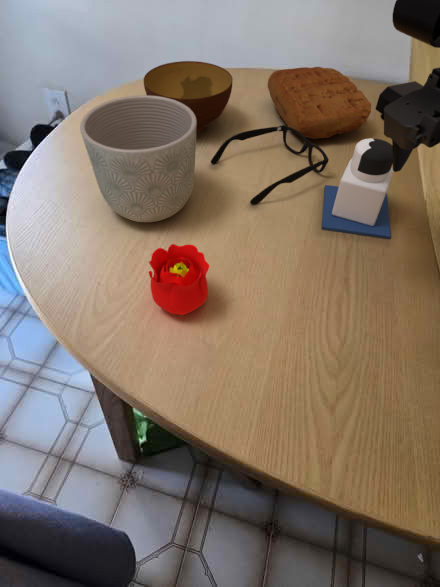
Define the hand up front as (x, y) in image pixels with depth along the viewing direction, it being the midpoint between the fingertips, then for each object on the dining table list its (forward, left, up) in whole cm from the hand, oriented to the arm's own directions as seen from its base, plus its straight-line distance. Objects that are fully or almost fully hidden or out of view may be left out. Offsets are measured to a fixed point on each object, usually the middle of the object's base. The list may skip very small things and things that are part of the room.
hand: (418, 189), depth 56 cm
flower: (+29, +15, -13) cm, 35 cm away
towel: (+5, -11, -13) cm, 18 cm away
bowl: (+40, -33, -13) cm, 53 cm away
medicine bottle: (+5, -11, -13) cm, 17 cm away
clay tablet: (+14, -42, -13) cm, 46 cm away
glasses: (+21, -20, -13) cm, 32 cm away
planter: (+40, -5, -13) cm, 42 cm away
